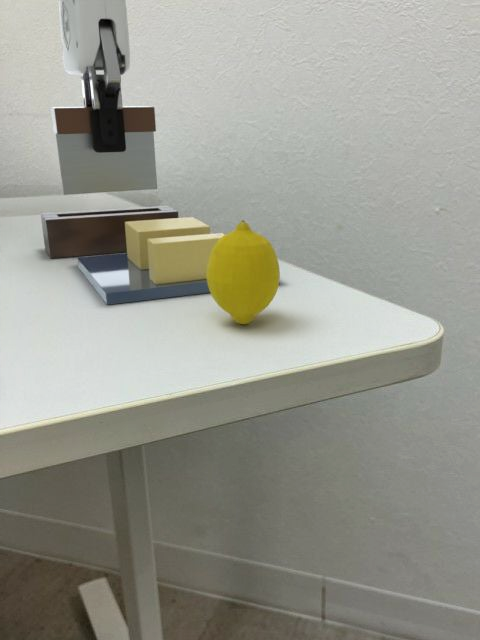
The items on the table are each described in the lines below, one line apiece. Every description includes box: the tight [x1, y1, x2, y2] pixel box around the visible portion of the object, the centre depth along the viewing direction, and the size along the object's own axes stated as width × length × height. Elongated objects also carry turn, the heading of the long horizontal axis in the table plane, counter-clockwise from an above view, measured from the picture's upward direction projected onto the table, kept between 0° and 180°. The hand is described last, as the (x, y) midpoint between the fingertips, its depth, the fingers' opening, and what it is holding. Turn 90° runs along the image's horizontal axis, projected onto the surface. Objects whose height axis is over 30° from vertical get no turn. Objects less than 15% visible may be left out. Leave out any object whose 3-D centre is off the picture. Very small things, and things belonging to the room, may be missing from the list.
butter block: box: [125, 216, 211, 270], centre depth 64 cm, size 7×5×4 cm
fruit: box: [206, 219, 281, 325], centre depth 50 cm, size 6×6×8 cm
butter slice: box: [147, 232, 226, 285], centre depth 59 cm, size 7×2×4 cm, turn 116°
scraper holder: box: [40, 205, 179, 259], centre depth 72 cm, size 14×4×4 cm, turn 116°
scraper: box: [50, 105, 158, 196], centre depth 69 cm, size 10×2×8 cm, turn 116°
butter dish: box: [76, 252, 211, 306], centre depth 63 cm, size 16×13×1 cm
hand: (106, 148), depth 69 cm, fingers closed on scraper, 2 cm apart
